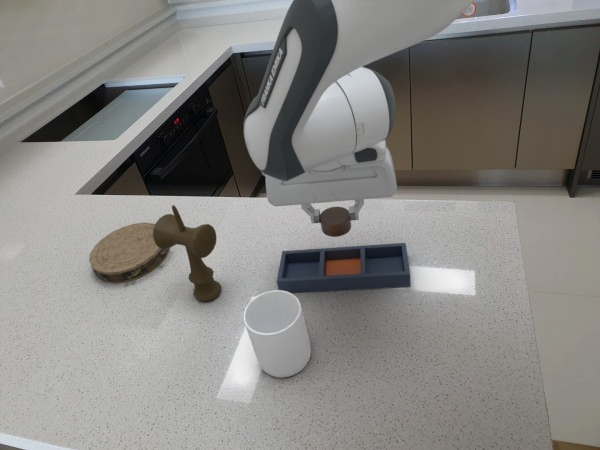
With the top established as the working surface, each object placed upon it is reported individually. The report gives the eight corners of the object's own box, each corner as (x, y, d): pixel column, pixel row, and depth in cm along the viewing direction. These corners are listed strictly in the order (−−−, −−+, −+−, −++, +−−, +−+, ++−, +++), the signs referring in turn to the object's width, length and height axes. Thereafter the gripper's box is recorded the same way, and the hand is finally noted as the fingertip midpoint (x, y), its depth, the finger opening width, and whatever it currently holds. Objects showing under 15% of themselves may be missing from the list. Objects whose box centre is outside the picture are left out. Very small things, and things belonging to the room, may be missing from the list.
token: (351, 235, 74) (350, 223, 73) (320, 238, 75) (318, 226, 74) (351, 217, 78) (350, 205, 77) (322, 219, 79) (320, 207, 78)
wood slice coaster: (113, 295, 89) (107, 284, 87) (84, 261, 99) (77, 251, 97) (183, 251, 96) (178, 240, 94) (148, 224, 107) (144, 214, 105)
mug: (238, 339, 75) (221, 295, 69) (280, 313, 78) (268, 269, 72) (276, 390, 66) (261, 345, 60) (322, 358, 69) (312, 312, 63)
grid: (410, 286, 78) (410, 274, 76) (279, 293, 82) (276, 281, 80) (405, 255, 84) (405, 242, 82) (285, 262, 88) (282, 250, 86)
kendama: (198, 276, 89) (163, 190, 77) (238, 288, 85) (207, 199, 73) (178, 297, 85) (138, 211, 73) (219, 311, 81) (183, 221, 69)
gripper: (252, 163, 67) (271, 236, 75) (396, 148, 63) (399, 227, 72) (259, 142, 72) (276, 213, 80) (392, 127, 68) (396, 203, 77)
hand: (335, 219), depth 76 cm, fingers closed on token, 5 cm apart
